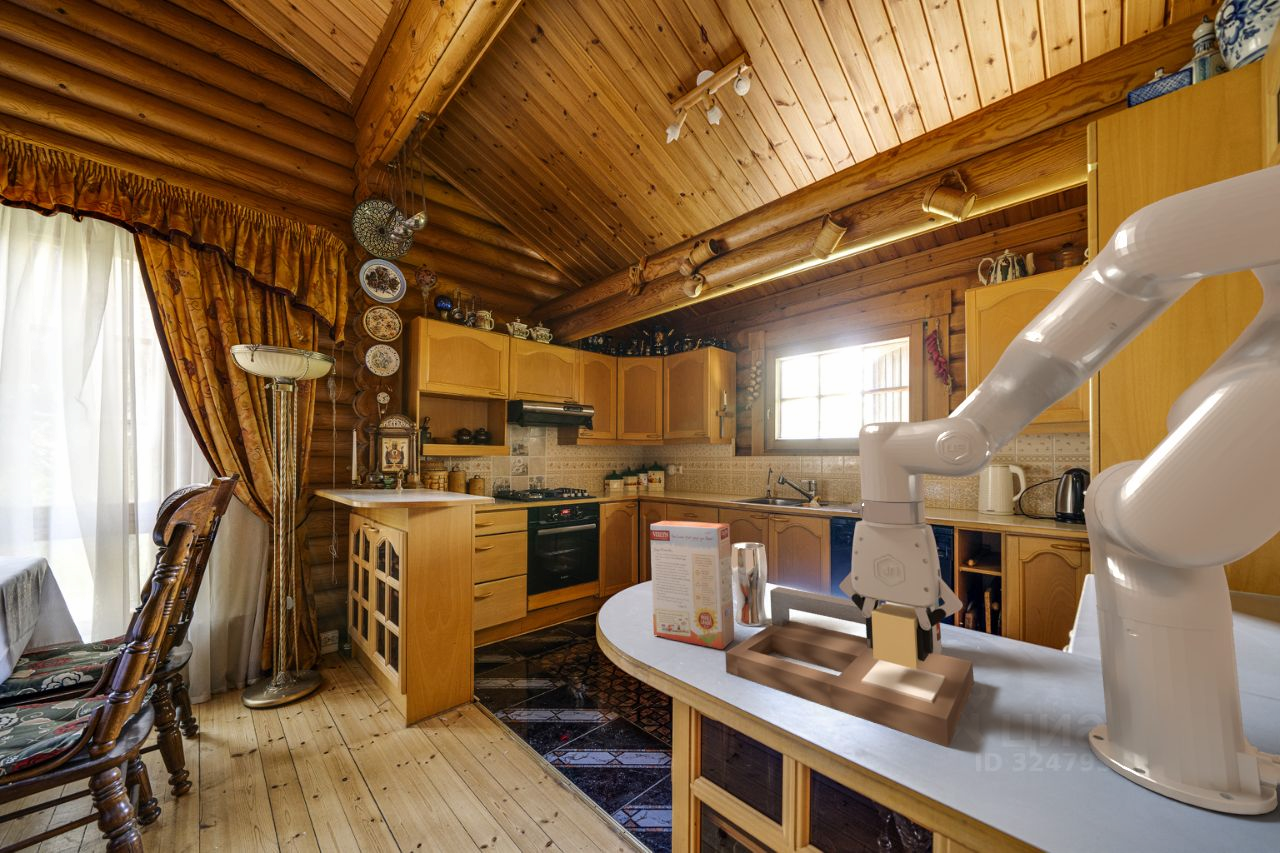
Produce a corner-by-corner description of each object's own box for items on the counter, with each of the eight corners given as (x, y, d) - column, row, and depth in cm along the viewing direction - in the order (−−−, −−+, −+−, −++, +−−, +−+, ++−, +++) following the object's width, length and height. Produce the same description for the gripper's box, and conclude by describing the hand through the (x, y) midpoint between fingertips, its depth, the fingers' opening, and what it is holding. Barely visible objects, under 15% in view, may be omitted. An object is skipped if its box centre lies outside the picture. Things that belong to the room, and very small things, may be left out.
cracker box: (735, 639, 85) (731, 522, 86) (722, 651, 80) (718, 527, 81) (668, 626, 93) (664, 518, 94) (652, 636, 88) (649, 523, 89)
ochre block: (925, 656, 63) (923, 610, 63) (916, 669, 59) (913, 620, 59) (884, 646, 66) (882, 602, 66) (873, 658, 62) (871, 612, 63)
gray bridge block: (886, 643, 74) (884, 605, 74) (881, 649, 72) (878, 610, 72) (779, 619, 86) (777, 586, 86) (771, 623, 84) (770, 590, 84)
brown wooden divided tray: (974, 683, 67) (972, 659, 67) (948, 747, 53) (946, 716, 53) (782, 635, 86) (781, 616, 87) (726, 672, 72) (725, 650, 73)
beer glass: (770, 628, 90) (767, 548, 91) (733, 626, 91) (730, 548, 92) (768, 616, 97) (764, 542, 98) (733, 614, 98) (730, 541, 99)
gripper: (819, 512, 67) (824, 643, 66) (963, 522, 55) (972, 682, 54) (838, 506, 72) (843, 628, 71) (973, 515, 61) (981, 660, 60)
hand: (899, 649), depth 63 cm, fingers closed on ochre block, 4 cm apart
